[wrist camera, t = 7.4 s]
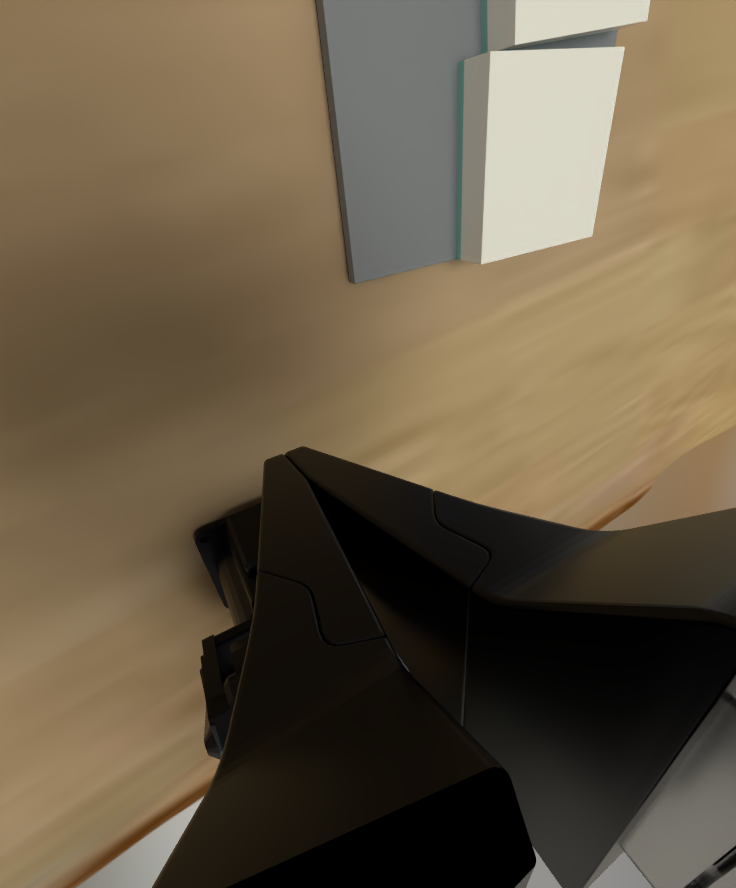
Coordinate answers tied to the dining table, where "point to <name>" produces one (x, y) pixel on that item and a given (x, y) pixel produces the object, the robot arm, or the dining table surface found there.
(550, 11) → the flat tile
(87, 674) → the dining table surface
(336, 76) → the mat
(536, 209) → the tile
